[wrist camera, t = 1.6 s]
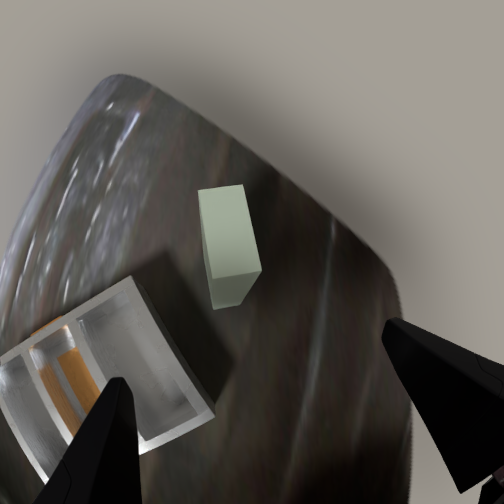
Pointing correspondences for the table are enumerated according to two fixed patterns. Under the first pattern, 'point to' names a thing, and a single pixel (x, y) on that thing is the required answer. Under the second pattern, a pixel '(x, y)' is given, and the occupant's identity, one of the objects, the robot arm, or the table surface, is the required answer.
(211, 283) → the pale green rectangular block
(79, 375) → the rack
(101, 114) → the table surface
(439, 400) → the robot arm
